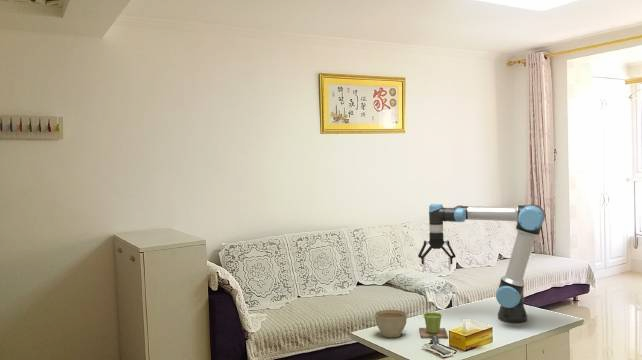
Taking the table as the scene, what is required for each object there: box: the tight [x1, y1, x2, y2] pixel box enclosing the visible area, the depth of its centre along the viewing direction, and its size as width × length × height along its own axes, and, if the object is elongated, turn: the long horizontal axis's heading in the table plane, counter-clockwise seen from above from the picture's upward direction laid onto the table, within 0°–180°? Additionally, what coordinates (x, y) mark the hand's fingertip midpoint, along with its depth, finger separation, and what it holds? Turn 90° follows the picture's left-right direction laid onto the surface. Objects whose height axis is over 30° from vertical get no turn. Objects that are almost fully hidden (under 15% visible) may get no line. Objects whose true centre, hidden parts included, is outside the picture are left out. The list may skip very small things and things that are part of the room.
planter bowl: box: [374, 309, 408, 338], centre depth 271 cm, size 16×16×11 cm
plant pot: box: [422, 311, 443, 333], centre depth 270 cm, size 9×9×9 cm
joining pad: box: [418, 327, 449, 340], centre depth 270 cm, size 13×13×1 cm
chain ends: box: [430, 335, 440, 344], centre depth 269 cm, size 3×26×2 cm, turn 173°
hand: (437, 270), depth 297 cm, fingers open, 13 cm apart
